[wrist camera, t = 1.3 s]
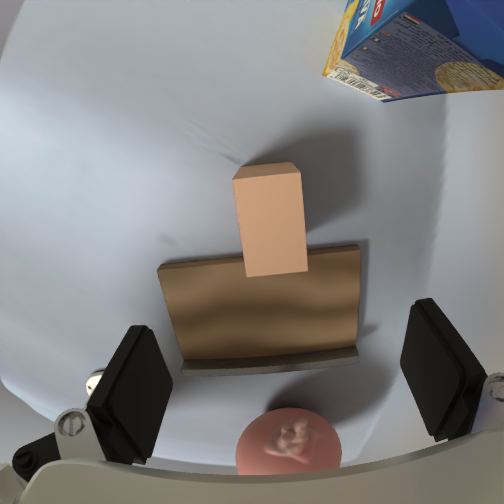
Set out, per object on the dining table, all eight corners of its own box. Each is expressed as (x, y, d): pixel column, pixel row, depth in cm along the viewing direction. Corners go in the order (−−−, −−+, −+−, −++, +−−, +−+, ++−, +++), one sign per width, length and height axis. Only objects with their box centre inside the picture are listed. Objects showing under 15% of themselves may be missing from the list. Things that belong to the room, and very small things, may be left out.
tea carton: (298, 237, 32) (308, 270, 25) (250, 242, 32) (246, 277, 25) (291, 161, 29) (301, 172, 21) (240, 166, 29) (232, 179, 22)
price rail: (352, 347, 37) (358, 364, 34) (189, 360, 39) (184, 378, 36) (353, 338, 37) (359, 355, 34) (186, 352, 39) (180, 369, 35)
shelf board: (353, 338, 37) (355, 345, 35) (186, 352, 39) (184, 359, 37) (357, 244, 32) (361, 249, 30) (160, 264, 34) (156, 270, 32)
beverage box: (407, 22, 22) (546, -48, 1) (383, 103, 26) (556, 91, 6) (350, -6, 21) (445, -126, 1) (321, 76, 25) (438, -18, 5)
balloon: (354, 366, 39) (381, 456, 25) (320, 440, 46) (329, 511, 32) (245, 360, 39) (237, 459, 25) (236, 437, 46) (229, 511, 32)
